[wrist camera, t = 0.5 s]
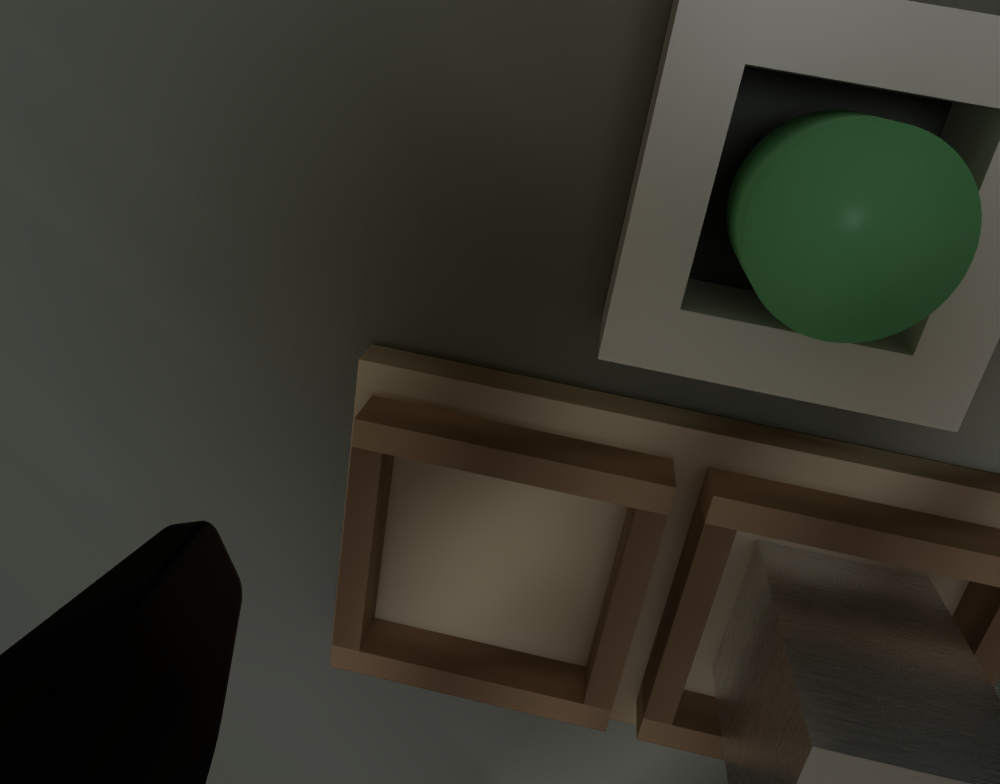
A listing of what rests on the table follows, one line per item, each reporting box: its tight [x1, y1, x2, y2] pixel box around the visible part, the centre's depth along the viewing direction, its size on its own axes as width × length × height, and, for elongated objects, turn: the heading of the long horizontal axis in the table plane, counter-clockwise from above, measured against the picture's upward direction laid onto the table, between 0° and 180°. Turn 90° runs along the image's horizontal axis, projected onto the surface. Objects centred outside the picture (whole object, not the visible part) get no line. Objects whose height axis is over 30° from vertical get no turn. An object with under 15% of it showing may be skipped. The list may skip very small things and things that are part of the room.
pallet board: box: [330, 344, 1000, 760], centre depth 22 cm, size 18×10×3 cm, turn 81°
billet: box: [712, 539, 1000, 784], centre depth 19 cm, size 4×4×7 cm
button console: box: [598, 0, 1000, 433], centre depth 18 cm, size 8×8×3 cm
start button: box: [726, 110, 982, 343], centre depth 16 cm, size 4×4×3 cm
